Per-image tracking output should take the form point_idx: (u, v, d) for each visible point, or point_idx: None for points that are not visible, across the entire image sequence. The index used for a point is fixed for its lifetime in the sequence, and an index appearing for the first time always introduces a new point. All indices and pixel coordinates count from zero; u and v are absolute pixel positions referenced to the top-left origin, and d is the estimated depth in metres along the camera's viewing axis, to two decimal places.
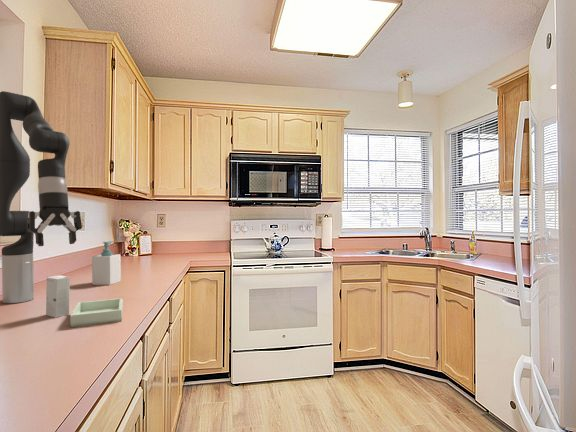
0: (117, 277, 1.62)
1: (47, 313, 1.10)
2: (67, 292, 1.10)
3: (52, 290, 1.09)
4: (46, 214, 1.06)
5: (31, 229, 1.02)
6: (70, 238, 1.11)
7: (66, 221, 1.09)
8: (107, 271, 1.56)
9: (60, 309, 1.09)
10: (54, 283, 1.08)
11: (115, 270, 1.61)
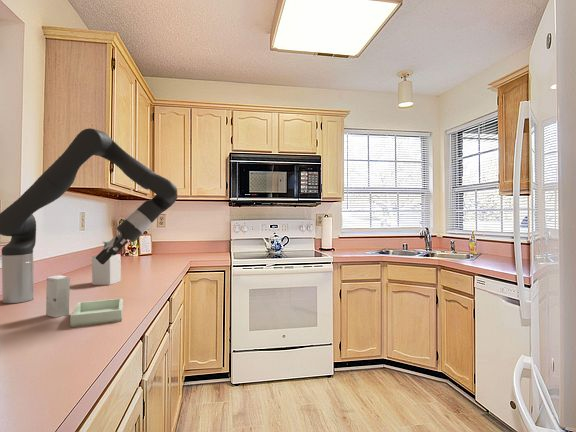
0: (117, 277, 1.62)
1: (47, 313, 1.10)
2: (67, 292, 1.10)
3: (52, 290, 1.09)
4: None
5: (115, 254, 1.14)
6: (101, 255, 1.21)
7: None
8: (107, 271, 1.56)
9: (60, 309, 1.09)
10: (54, 283, 1.08)
11: (115, 270, 1.61)
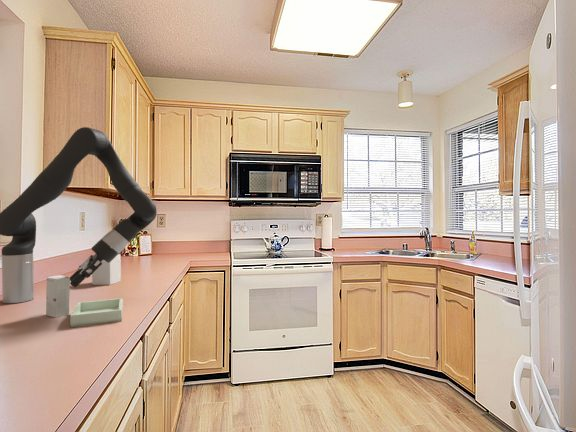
0: (117, 277, 1.62)
1: (47, 313, 1.10)
2: (67, 292, 1.10)
3: (52, 290, 1.09)
4: None
5: (89, 276, 1.10)
6: (75, 276, 1.17)
7: None
8: (107, 271, 1.56)
9: (60, 309, 1.09)
10: (54, 283, 1.08)
11: (115, 270, 1.61)
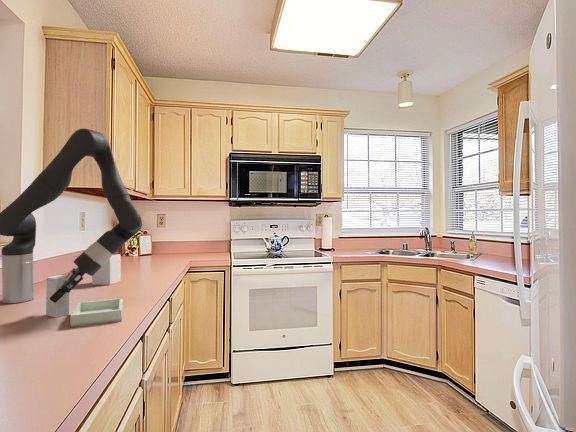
0: (117, 277, 1.62)
1: (47, 313, 1.10)
2: None
3: (52, 290, 1.09)
4: None
5: (69, 291, 1.07)
6: None
7: None
8: (107, 271, 1.56)
9: (60, 309, 1.09)
10: (54, 283, 1.08)
11: (115, 270, 1.61)
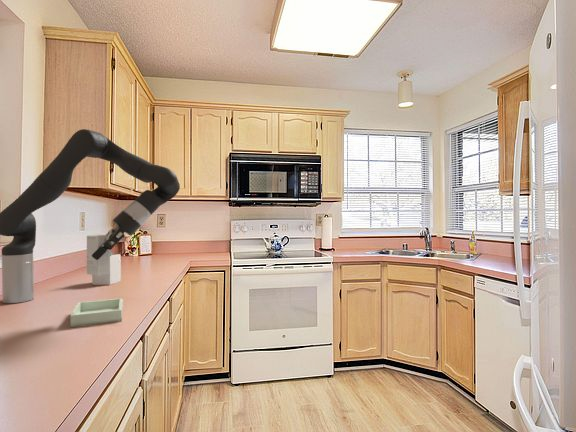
0: (117, 277, 1.62)
1: (88, 272, 1.07)
2: None
3: (93, 248, 1.06)
4: None
5: (111, 248, 1.05)
6: None
7: None
8: None
9: (101, 267, 1.06)
10: (96, 240, 1.06)
11: (115, 270, 1.61)
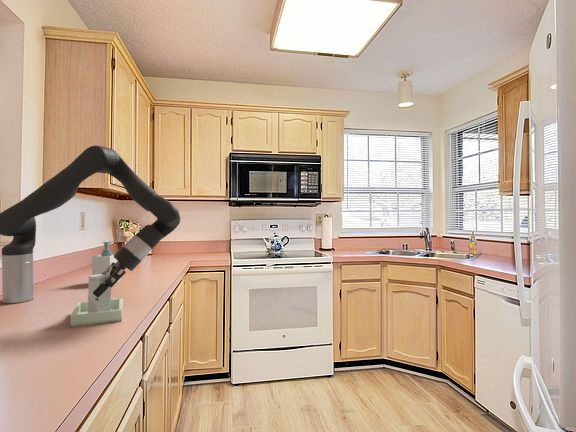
0: None
1: None
2: (108, 291, 1.08)
3: (94, 290, 1.06)
4: None
5: (112, 286, 1.05)
6: None
7: None
8: None
9: (102, 308, 1.07)
10: (97, 282, 1.06)
11: None
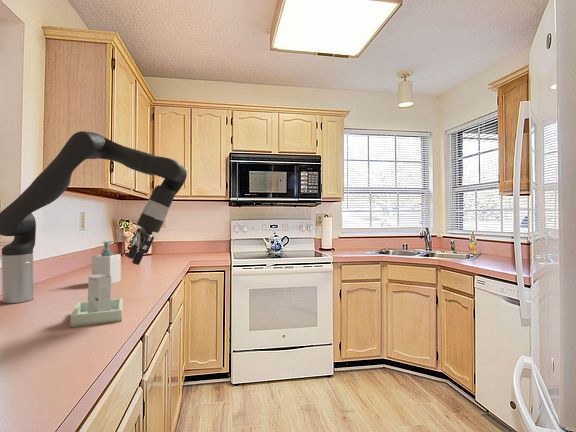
0: (117, 277, 1.62)
1: None
2: (108, 291, 1.08)
3: (94, 290, 1.06)
4: None
5: None
6: (132, 253, 1.19)
7: None
8: (107, 271, 1.56)
9: (102, 308, 1.06)
10: (96, 282, 1.06)
11: (115, 270, 1.61)
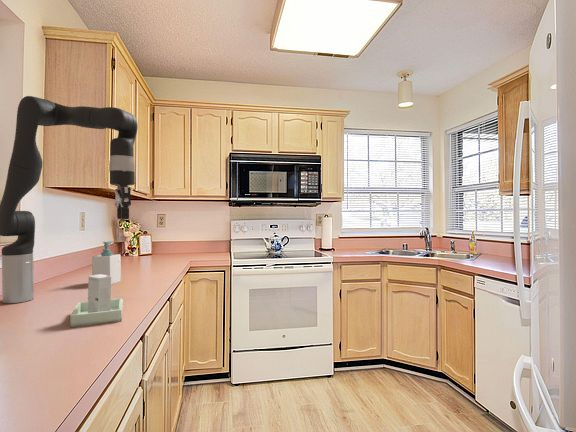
0: (117, 277, 1.62)
1: None
2: (108, 291, 1.08)
3: (94, 290, 1.06)
4: None
5: (130, 203, 1.12)
6: (120, 213, 1.20)
7: None
8: (107, 271, 1.56)
9: (102, 308, 1.06)
10: (96, 282, 1.06)
11: (115, 270, 1.61)
